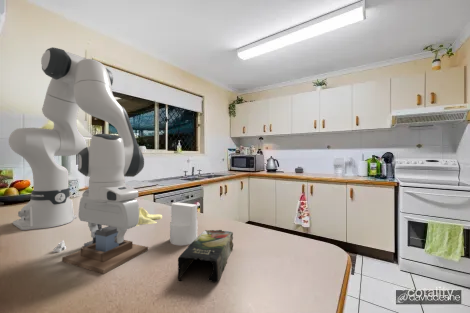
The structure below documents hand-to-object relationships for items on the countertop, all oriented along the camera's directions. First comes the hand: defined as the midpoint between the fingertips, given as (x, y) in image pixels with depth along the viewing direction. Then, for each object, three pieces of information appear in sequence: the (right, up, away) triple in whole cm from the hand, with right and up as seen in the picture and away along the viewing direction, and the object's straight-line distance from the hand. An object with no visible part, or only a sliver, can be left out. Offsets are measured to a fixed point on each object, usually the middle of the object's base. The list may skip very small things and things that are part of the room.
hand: (107, 239), depth 61 cm
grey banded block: (0, -3, 0) cm, 3 cm away
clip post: (-8, -4, +7) cm, 12 cm away
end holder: (0, -4, 0) cm, 4 cm away
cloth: (-4, -5, +33) cm, 34 cm away
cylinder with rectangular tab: (+19, -5, +12) cm, 23 cm away
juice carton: (+30, -5, -3) cm, 30 cm away
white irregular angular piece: (-17, -5, +3) cm, 18 cm away
